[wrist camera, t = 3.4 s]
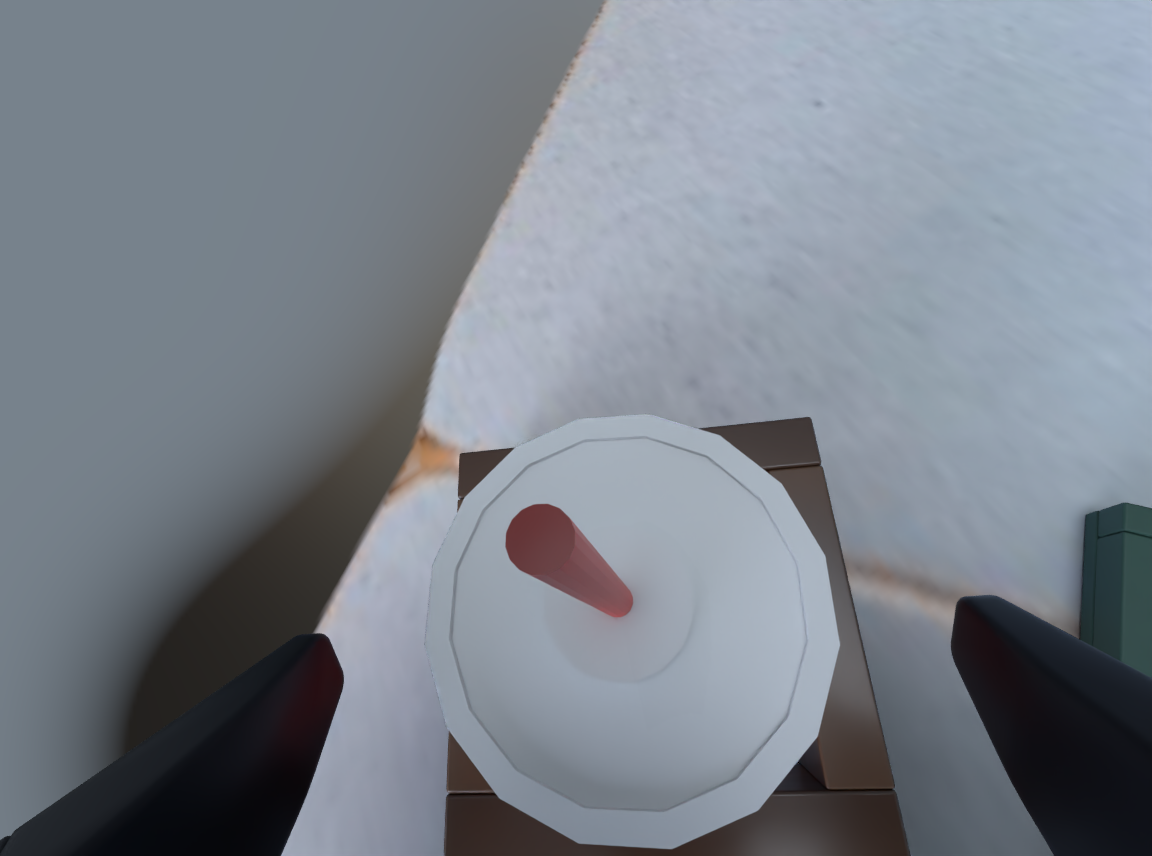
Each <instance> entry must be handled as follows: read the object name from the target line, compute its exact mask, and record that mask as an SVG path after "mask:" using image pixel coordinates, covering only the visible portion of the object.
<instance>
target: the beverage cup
mask: <svg viewBox="0 0 1152 856" xmlns="http://www.w3.org/2000/svg"><path fill="white" fill-rule="evenodd" d="M424 645H425V648H426V652H427V656H428V660H429V664H430V667H431V671H432V675H433V679H434V683H435V686H436V690H437V694H438V698H439V702H440V705H441V709H442V713H443V717H444V721H445V724H446V727H447V728H448V730H449V731H450V733H451V734H452V735H453V737H454V738H455V739H456V741H457V742H458V743H459V745H460V746H461V747H462V749H463V750H464V751H465V753H466V754H467V756H468V757H469V758H470V760H471V761H472V762H473V764H474V765H475V766H476V768H477V769H478V770H479V772H480V773H481V774H482V776H483V777H484V779H485V780H486V781H487V783H488V784H489V785H490V787H491V788H492V789H493V791H494V792H495V793H496V795H497V796H498V797H499V798H500V799H501V800H503V801H505V802H507V803H508V804H510V805H512V806H514V807H515V808H517V809H519V810H521V811H522V812H524V813H526V814H528V815H529V816H531V817H533V818H535V819H537V820H538V821H540V822H542V823H544V824H545V825H547V826H549V827H551V828H552V829H554V830H556V831H558V832H559V833H561V834H563V835H565V836H566V837H568V838H570V839H572V840H573V841H575V842H577V843H579V844H594V845H611V846H627V847H644V848H660V849H673V848H676V847H678V846H680V845H682V844H685V843H687V842H689V841H691V840H693V839H696V838H698V837H700V836H702V835H705V834H707V833H709V832H711V831H714V830H716V829H718V828H720V827H723V826H725V825H727V824H729V823H732V822H734V821H736V820H738V819H740V818H743V817H745V816H747V815H749V814H752V813H754V812H756V811H758V810H759V809H760V808H761V806H762V805H763V804H764V803H765V801H766V800H767V799H768V798H769V796H770V795H771V794H772V793H773V791H774V790H775V789H776V788H777V786H778V785H779V784H780V783H781V781H782V780H783V779H784V778H785V776H786V775H787V774H788V773H789V772H790V770H791V769H792V768H793V767H794V765H795V764H796V763H797V762H798V760H799V759H800V758H801V757H802V755H803V754H804V753H805V752H806V750H807V749H808V748H809V747H810V745H811V744H812V743H813V742H814V740H815V739H816V738H817V737H818V733H819V729H820V725H821V721H822V717H823V713H824V709H825V705H826V700H827V696H828V692H829V688H830V684H831V680H832V676H833V672H834V668H835V664H836V660H837V655H838V651H839V647H840V642H839V636H838V630H837V624H836V618H835V612H834V606H833V600H832V594H831V587H830V581H829V575H828V569H827V563H826V557H825V555H824V553H823V551H822V550H821V548H820V546H819V545H818V543H817V541H816V540H815V538H814V536H813V535H812V533H811V531H810V530H809V528H808V526H807V525H806V523H805V521H804V520H803V518H802V517H801V515H800V513H799V512H798V510H797V508H796V507H795V505H794V503H793V502H792V500H791V498H790V497H789V495H788V493H787V492H786V490H785V488H784V487H783V485H782V483H780V482H779V481H778V480H776V479H775V478H774V477H773V476H771V475H770V474H769V473H767V472H766V471H765V470H764V469H762V468H761V467H760V466H758V465H757V464H756V463H755V462H753V461H752V460H751V459H749V458H748V457H747V456H746V455H744V454H743V453H742V452H740V451H739V450H738V449H737V448H735V447H734V446H733V445H731V444H730V443H729V442H728V441H726V440H725V439H724V438H722V437H721V436H720V435H717V434H713V433H710V432H707V431H704V430H700V429H697V428H694V427H691V426H687V425H684V424H681V423H678V422H674V421H671V420H668V419H664V418H661V417H658V416H655V415H651V414H640V415H625V416H610V417H595V418H579V419H577V420H575V421H573V422H570V423H568V424H566V425H564V426H562V427H559V428H557V429H555V430H553V431H550V432H548V433H546V434H544V435H542V436H539V437H537V438H535V439H533V440H531V441H528V442H526V443H524V444H522V445H519V446H517V447H515V448H514V449H513V450H512V451H511V452H510V453H509V454H508V455H507V456H506V457H505V458H504V459H503V460H502V461H501V462H500V463H499V464H498V465H497V466H496V467H495V468H494V469H493V470H492V471H491V472H490V473H489V474H488V475H487V476H486V477H485V478H484V479H483V480H482V481H481V482H480V483H479V484H478V485H477V486H476V487H475V488H474V489H473V490H472V491H471V492H470V493H469V494H468V495H467V496H466V497H465V498H464V500H463V502H462V504H461V506H460V508H459V510H458V512H457V515H456V517H455V519H454V521H453V523H452V525H451V527H450V529H449V531H448V533H447V535H446V538H445V540H444V542H443V544H442V546H441V548H440V550H439V552H438V554H437V556H436V558H435V561H434V563H433V565H432V574H431V584H430V594H429V604H428V614H427V624H426V634H425V644H424Z"/></svg>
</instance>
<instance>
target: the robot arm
mask: <svg viewBox="0 0 1152 856" xmlns="http://www.w3.org/2000/svg"><path fill="white" fill-rule="evenodd" d="M951 652H952V656H953V660H954V662H955V665H956V667H957V669H958V671H959V673H960V675H961V678H962V680H963V682H964V684H965V686H966V688H967V690H968V692H969V695H970V697H971V699H972V701H973V703H974V705H975V707H976V709H977V711H978V714H979V716H980V718H981V720H982V722H983V724H984V726H985V728H986V731H987V733H988V735H989V737H990V739H991V741H992V743H993V745H994V748H995V750H996V752H997V754H998V756H999V758H1000V760H1001V762H1002V764H1003V766H1004V768H1005V770H1006V772H1007V774H1008V776H1009V778H1010V780H1011V782H1012V784H1013V786H1014V788H1015V790H1016V791H1017V793H1018V795H1019V797H1020V798H1021V800H1022V802H1023V804H1024V805H1025V807H1026V809H1027V811H1028V812H1029V814H1030V816H1031V817H1032V819H1033V821H1034V822H1035V824H1036V826H1037V827H1038V829H1039V831H1040V832H1041V834H1042V836H1043V837H1044V839H1045V841H1046V843H1047V844H1048V846H1049V848H1050V849H1051V851H1052V853H1053V854H1054V856H1152V678H1151V677H1149V676H1147V675H1145V674H1143V673H1142V672H1140V671H1138V670H1136V669H1134V668H1132V667H1130V666H1128V665H1127V664H1125V663H1123V662H1121V661H1119V660H1117V659H1115V658H1113V657H1111V656H1110V655H1108V654H1106V653H1104V652H1102V651H1100V650H1098V649H1096V648H1095V647H1093V646H1091V645H1089V644H1087V643H1085V642H1083V641H1081V640H1080V639H1078V638H1076V637H1074V636H1072V635H1070V634H1068V633H1066V632H1064V631H1063V630H1061V629H1059V628H1057V627H1055V626H1053V625H1051V624H1049V623H1048V622H1046V621H1044V620H1042V619H1040V618H1038V617H1036V616H1034V615H1032V614H1031V613H1029V612H1027V611H1025V610H1023V609H1021V608H1019V607H1017V606H1016V605H1014V604H1012V603H1010V602H1008V601H1006V600H1004V599H1002V598H1000V597H998V596H994V595H982V596H965V597H962V598H960V599H959V601H958V602H957V605H956V610H955V617H954V624H953V631H952V638H951ZM343 684H344V675H343V670H342V668H341V665H340V663H339V661H338V658H337V656H336V654H335V651H334V649H333V647H332V644H331V642H330V640H329V638H328V637H327V636H326V635H324V634H321V633H318V634H302V635H298V636H296V637H294V638H292V639H291V640H290V641H288V642H287V643H285V644H284V645H282V646H281V647H279V648H278V649H276V650H275V651H274V652H272V653H271V654H269V655H268V656H267V657H265V658H263V659H262V660H261V661H259V662H258V663H256V664H255V665H253V666H252V667H251V668H249V669H248V670H246V671H245V672H243V673H242V674H240V675H239V676H238V677H236V678H235V679H233V680H232V681H230V682H229V683H227V684H226V685H224V686H223V687H222V688H220V689H219V690H217V691H216V692H214V693H213V694H211V695H210V696H209V697H207V698H206V699H204V700H203V701H201V702H200V703H198V704H197V705H195V706H194V707H193V708H191V709H190V710H189V711H187V712H185V713H184V714H182V715H181V716H180V717H178V718H177V719H175V720H174V721H172V722H171V723H169V724H168V725H167V726H165V727H164V728H162V729H161V730H159V731H158V732H156V733H155V734H154V735H152V736H151V737H150V738H148V739H146V740H145V741H143V742H142V743H141V744H139V745H138V746H136V747H135V748H133V749H132V750H130V751H129V752H128V753H126V754H125V755H124V756H122V757H120V758H119V759H118V760H116V761H114V762H113V763H112V764H110V765H109V766H107V767H106V768H104V769H103V770H102V771H100V772H99V773H97V774H96V775H94V776H93V777H91V778H90V779H88V780H87V781H86V782H84V783H83V784H81V785H80V786H78V787H77V788H76V789H74V790H73V791H71V792H70V793H68V794H67V795H65V796H64V797H62V798H61V799H60V800H58V801H57V802H55V803H54V804H52V805H51V806H50V807H48V808H47V809H45V810H44V811H42V812H41V813H39V814H38V815H36V816H35V817H33V818H32V819H31V820H29V821H28V822H26V823H25V824H23V825H22V826H20V827H19V828H18V829H16V830H15V831H14V833H13V834H12V835H11V836H7V837H4V838H3V839H1V840H0V856H281V854H282V852H283V850H284V847H285V845H286V843H287V840H288V838H289V836H290V833H291V831H292V829H293V826H294V824H295V822H296V820H297V817H298V815H299V813H300V810H301V808H302V805H303V803H304V800H305V798H306V796H307V793H308V790H309V788H310V785H311V782H312V779H313V777H314V774H315V771H316V768H317V765H318V762H319V759H320V756H321V753H322V750H323V747H324V744H325V741H326V738H327V735H328V732H329V729H330V726H331V723H332V720H333V717H334V714H335V711H336V708H337V705H338V702H339V699H340V695H341V692H342V689H343Z"/></svg>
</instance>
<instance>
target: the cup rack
mask: <svg viewBox="0 0 1152 856" xmlns="http://www.w3.org/2000/svg"><path fill="white" fill-rule="evenodd" d="M699 429H700V430H704V431H707V432H710V433H713V434H717V435H720V436H721V437H722V438H724V439H725V440H726V441H728V442H729V443H730V444H731V445H733V446H734V447H735V448H737V449H738V450H739V451H740V452H742V453H743V454H744V455H746V456H747V457H748V458H749V459H751V460H752V461H753V462H755V463H756V464H757V465H758V466H760V467H761V468H762V469H764V470H765V471H766V472H767V473H769V474H770V475H771V476H773V477H774V478H775V479H776V480H778V481H779V482H780V483H782V485H783V487H784V488H785V490H786V492H787V493H788V495H789V497H790V498H791V500H792V502H793V503H794V505H795V507H796V508H797V510H798V512H799V513H800V515H801V517H802V518H803V520H804V521H805V523H806V525H807V526H808V528H809V530H810V531H811V533H812V535H813V536H814V538H815V540H816V541H817V543H818V545H819V546H820V548H821V550H822V551H823V553H824V555H825V557H826V563H827V569H828V575H829V581H830V587H831V594H832V600H833V606H834V612H835V618H836V624H837V630H838V636H839V642H840V647H839V651H838V655H837V660H836V664H835V668H834V672H833V676H832V680H831V684H830V688H829V692H828V696H827V700H826V705H825V709H824V713H823V717H822V721H821V725H820V729H819V733H818V737H817V738H816V739H815V740H814V742H813V743H812V744H811V745H810V747H809V748H808V749H807V750H806V752H805V753H804V754H803V755H802V757H801V758H800V759H799V762H800V764H801V765H794V767H793V768H792V769H791V770H790V772H789V773H788V774H787V775H786V776H785V778H784V779H783V780H782V781H781V783H780V784H779V785H778V786H777V788H776V789H775V790H774V791H773V793H772V794H771V795H770V796H769V798H768V799H767V800H766V801H765V803H764V804H763V805H762V806H761V808H760V809H759V810H758V811H756V812H754V813H752V814H749V815H747V816H745V817H743V818H740V819H738V820H736V821H734V822H732V823H729V824H727V825H725V826H723V827H720V828H718V829H716V830H714V831H711V832H709V833H707V834H705V835H702V836H700V837H698V838H696V839H693V840H691V841H689V842H687V843H685V844H682V845H680V846H678V847H676V848H673V849H660V848H644V847H627V846H611V845H594V844H579V843H577V842H575V841H573V840H572V839H570V838H568V837H566V836H565V835H563V834H561V833H559V832H558V831H556V830H554V829H552V828H551V827H549V826H547V825H545V824H544V823H542V822H540V821H538V820H537V819H535V818H533V817H531V816H529V815H528V814H526V813H524V812H522V811H521V810H519V809H517V808H515V807H514V806H512V805H510V804H508V803H507V802H505V801H503V800H501V799H500V798H499V797H498V796H497V795H496V793H495V792H494V791H493V789H492V788H491V787H490V785H489V784H488V783H487V781H486V780H485V779H484V777H483V776H482V774H481V773H480V772H479V770H478V769H477V768H476V766H475V765H474V764H473V762H472V761H471V760H470V758H469V757H468V756H467V754H466V753H465V751H464V750H463V749H462V747H461V746H460V745H459V743H458V742H457V741H456V739H455V738H454V737H453V735H452V734H451V733H450V731H449V739H448V764H447V792H448V793H450V794H448V795H447V797H446V812H445V838H444V856H911V855H910V851H909V846H908V842H907V838H906V833H905V829H904V824H903V820H902V815H901V811H900V807H899V802H898V798H897V794H896V792H895V790H893V788H894V787H895V784H894V779H893V775H892V770H891V766H890V762H889V757H888V753H887V748H886V744H885V740H884V735H883V731H882V726H881V722H880V718H879V713H878V709H877V704H876V700H875V695H874V691H873V687H872V682H871V678H870V673H869V669H868V665H867V660H866V656H865V651H864V647H863V643H862V638H861V634H860V629H859V625H858V620H857V616H856V612H855V607H854V603H853V598H852V594H851V590H850V585H849V581H848V576H847V572H846V568H845V563H844V559H843V554H842V550H841V545H840V541H839V537H838V532H837V528H836V523H835V519H834V515H833V510H832V506H831V501H830V497H829V493H828V488H827V484H826V479H825V475H824V470H823V467H822V466H820V465H821V458H820V454H819V450H818V445H817V441H816V436H815V432H814V428H813V423H812V420H811V418H810V417H804V418H794V419H785V420H775V421H766V422H756V423H746V424H737V425H727V426H718V427H708V428H699ZM513 449H514V448H507V449H498V450H488V451H478V452H469V453H461V454H460V458H459V484H458V497H459V499H460V500H458V509H457V512H458V510H459V508H460V506H461V504H462V502H463V500H464V498H465V497H466V496H467V495H468V494H469V493H470V492H471V491H472V490H473V489H474V488H475V487H476V486H477V485H478V484H479V483H480V482H481V481H482V480H483V479H484V478H485V477H486V476H487V475H488V474H489V473H490V472H491V471H492V470H493V469H494V468H495V467H496V466H497V465H498V464H499V463H500V462H501V461H502V460H503V459H504V458H505V457H506V456H507V455H508V454H509V453H510V452H511V451H512V450H513Z"/></svg>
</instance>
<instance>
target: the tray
mask: <svg viewBox="0 0 1152 856" xmlns="http://www.w3.org/2000/svg"><path fill="white" fill-rule="evenodd" d="M1080 640H1081V641H1083V642H1085V643H1087V644H1089V645H1091V646H1093V647H1095V648H1096V649H1098V650H1100V651H1102V652H1104V653H1106V654H1108V655H1110V656H1111V657H1113V658H1115V659H1117V660H1119V661H1121V662H1123V663H1125V664H1127V665H1128V666H1130V667H1132V668H1134V669H1136V670H1138V671H1140V672H1142V673H1143V674H1145V675H1147V676H1149V677H1151V678H1152V508H1148V507H1143V506H1139V505H1135V504H1130V503H1121V504H1118V505H1115V506H1112V507H1109V508H1106V509H1103V510H1100V511H1095V512H1092V513H1089V514H1087V515H1086V529H1085V550H1084V571H1083V592H1082V613H1081V634H1080Z"/></svg>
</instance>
